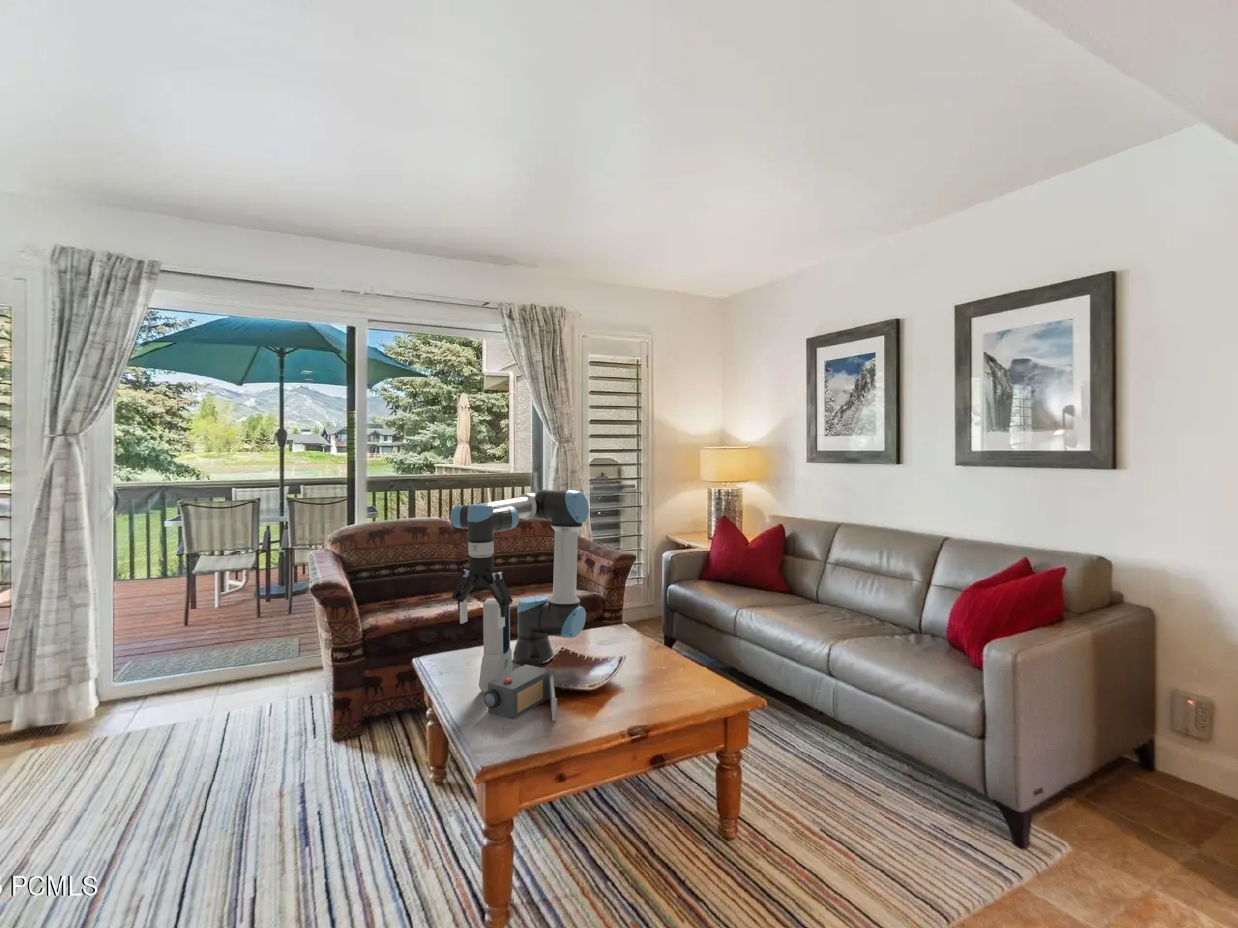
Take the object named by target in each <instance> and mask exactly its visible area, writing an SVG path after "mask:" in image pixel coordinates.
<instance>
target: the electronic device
mask: <svg viewBox="0 0 1238 928" xmlns="http://www.w3.org/2000/svg"><path fill="white" fill-rule="evenodd" d="M498 606H500V605H499V604H498V602H497V601H496V599H495V598H494V597H491V598H486V599H485V600H484V602H483V603H482V610H483V612H482V614H483V615H482V618H483V619H482V624H483V625H482V627H483V628H482V631H483V632H482V633H483V637H482V638H483V654H482V658H481V664H480V672H479V681H478V687H479V689H480V690H481V692H482V694H485V693H486V692H487V691H488V682H490V681H492V680H495V679H497V678H499V677H501V676H503V675H505V674H507V673H509V672H511V671H513V653H512V652H513V651H512V648H511V618H510V617H511V616H510V615H511V611H510V610H511V609H510V606H511V604H509V605H507V616H505V626H504V627H503V628H501V629H498Z"/></svg>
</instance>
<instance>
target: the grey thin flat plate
mask: <svg viewBox="0 0 1238 928" xmlns="http://www.w3.org/2000/svg"><path fill="white" fill-rule="evenodd" d="M554 677H555V675H554V674H550V676H549V700H550V702H549V703H550V710H551V712H550V713H551V720H552V722H555V721H556V717H557V716H558V697H556V693H555V682H554V681H555V679H554Z"/></svg>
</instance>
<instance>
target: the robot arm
mask: <svg viewBox="0 0 1238 928" xmlns="http://www.w3.org/2000/svg"><path fill="white" fill-rule="evenodd" d="M589 512H590V506H589V501H588V499H587V497H586V495H585V494H584V493H583V492H581V491H578V490H573V489H569V490H568V489H567V490H566V489H542V490H541V489H540V490H537V491H532V492H527V493H522V494H520V495H518V497H513V498H508V499H501V500H495V501H494V500H493V501H489V502H483V503H474V504H473V503H472V504H470V505H466V504H462V505H456V506H454V507H453V508H452V510H451V513H450V523H451V524H452V526H453V527H455V528H457V529H462V530H464V529H466V530H467V538H468V539H467V546H468V550H467V551H468V552H467V553H468V555H469V556H468V562H467V563H468V568H464V569H461V570H460V573H459V578H458V581H457V583H456V586H455V589H454V591H453V592H452V596H451V599H453V600H455V601H456V602H457V611H458V612H459V624H464V623H466V622H468V600H466V599H467V597H468V596H469V594H470V593H471V591H472V590H473V589H474V587H482V588H486V589H487V590H489V592H490V593H491V595H492V596H493V598H494V599H496V601H497V602H498V604H499V605H500V606H498V629H501V628H503V627H504V626H505V616H507V605H509V604H510V605H511V604H513V602H514V600H513V598H512V596H511V593H510V590H509V589H508V586H507V584H506V582H505V580H504V579H505V578H504V573H503V571H499V572H494V567H495V556H494V553H495V548H494V547H495V546H494V544H495V543H494V541H495V540H494V534H495V533H499V532H504V531H509V530H512V529H515V528H516V527H517V525H518V524H519V521H520V519H521V520H533V519H534V520H543V521H550V527H551V528H552V529H553V530H554V541H553V542H554V544H553V545H554V547H553V550H554V551H553V579H552V580H553V585H552V595H551V597H548V596H544V595H542V596H531V597H527V598H523V599H521V600H520V601H519V602H518V604H517V612H516V613H517V614H516V615H517V616H516V617H517V641H516V643H515V647H514V651H513V653H512V661H513V662H514V663H516V664H518V665H521V666H524V665H526V664H527V665H531V666H538V665H537V664H540V665H542V664H541V663H543V662H545V661H547V660H548V659H550V658H551V657H552V656H553V657H554V651H553V649H552V645H551V641H550V638H549V635H550V636H555V637H559V638H560V637H561V638H562V639H563V638H565V639H567V638H569V639H574V638H576V637H578V636H579V635H580V634H581V633H582V630H583V628H584V627H585V623H586V618H587V612H586V608H584V607H583V606H581V600H580V598H579V597H578V596H577V582H578V580H577V578H578V577H577V574H578V573H577V572H578V543H579V541H578V539H579V536H578V535H579V530H581V529H582V527H583V523H585V522H586V521H587V519H588V517H589ZM468 578H470V580H469V581H468V583H467V580H468ZM466 583H467V585H466ZM465 586H466V587H465ZM464 587H465V588H464Z"/></svg>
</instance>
